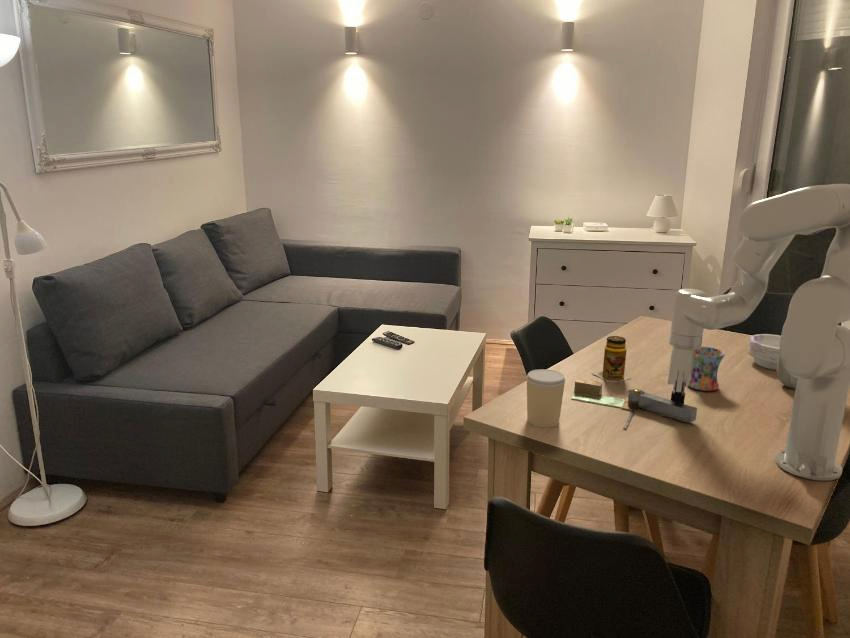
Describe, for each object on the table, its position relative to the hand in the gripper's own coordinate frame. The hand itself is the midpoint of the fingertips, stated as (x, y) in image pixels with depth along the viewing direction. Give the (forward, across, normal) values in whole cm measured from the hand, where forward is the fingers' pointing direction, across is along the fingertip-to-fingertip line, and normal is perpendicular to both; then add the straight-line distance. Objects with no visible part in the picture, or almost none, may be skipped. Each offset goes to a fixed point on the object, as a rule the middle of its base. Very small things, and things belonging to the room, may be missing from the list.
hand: (676, 407), depth 177 cm
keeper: (+2, -2, -20) cm, 20 cm away
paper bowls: (+2, -52, +26) cm, 58 cm away
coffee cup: (+2, +18, -30) cm, 35 cm away
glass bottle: (+2, -34, +30) cm, 45 cm away
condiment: (+2, -21, -19) cm, 28 cm away
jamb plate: (+2, +6, -7) cm, 9 cm away
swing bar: (+1, +2, -4) cm, 4 cm away
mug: (+2, -24, +6) cm, 25 cm away
